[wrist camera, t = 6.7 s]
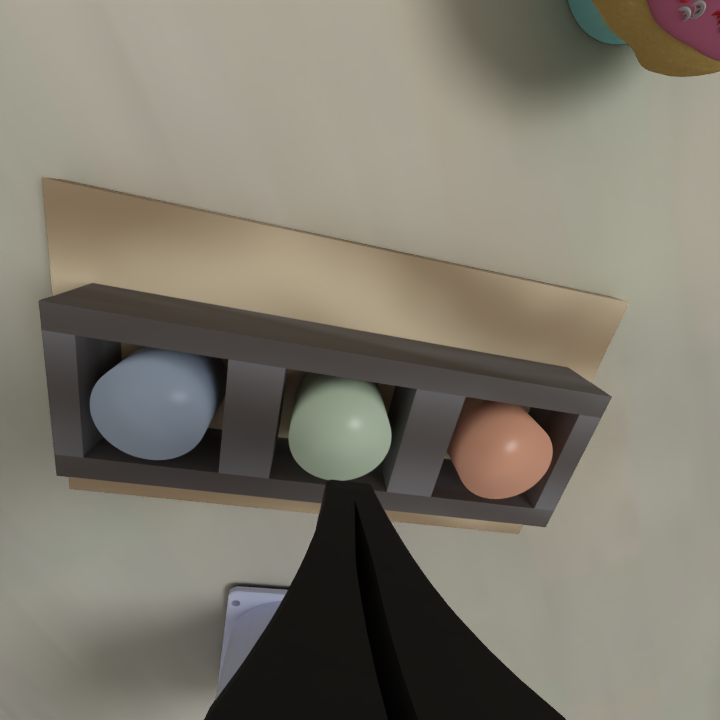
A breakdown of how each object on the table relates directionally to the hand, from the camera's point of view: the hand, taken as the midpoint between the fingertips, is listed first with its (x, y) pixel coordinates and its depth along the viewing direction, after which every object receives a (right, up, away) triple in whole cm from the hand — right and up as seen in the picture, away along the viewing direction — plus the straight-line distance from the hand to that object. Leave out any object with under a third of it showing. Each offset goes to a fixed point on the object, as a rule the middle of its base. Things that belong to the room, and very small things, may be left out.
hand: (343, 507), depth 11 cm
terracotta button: (+6, +1, +7) cm, 10 cm away
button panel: (-1, +3, +7) cm, 8 cm away
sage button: (0, +3, +6) cm, 6 cm away
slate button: (-7, +4, +5) cm, 10 cm away
